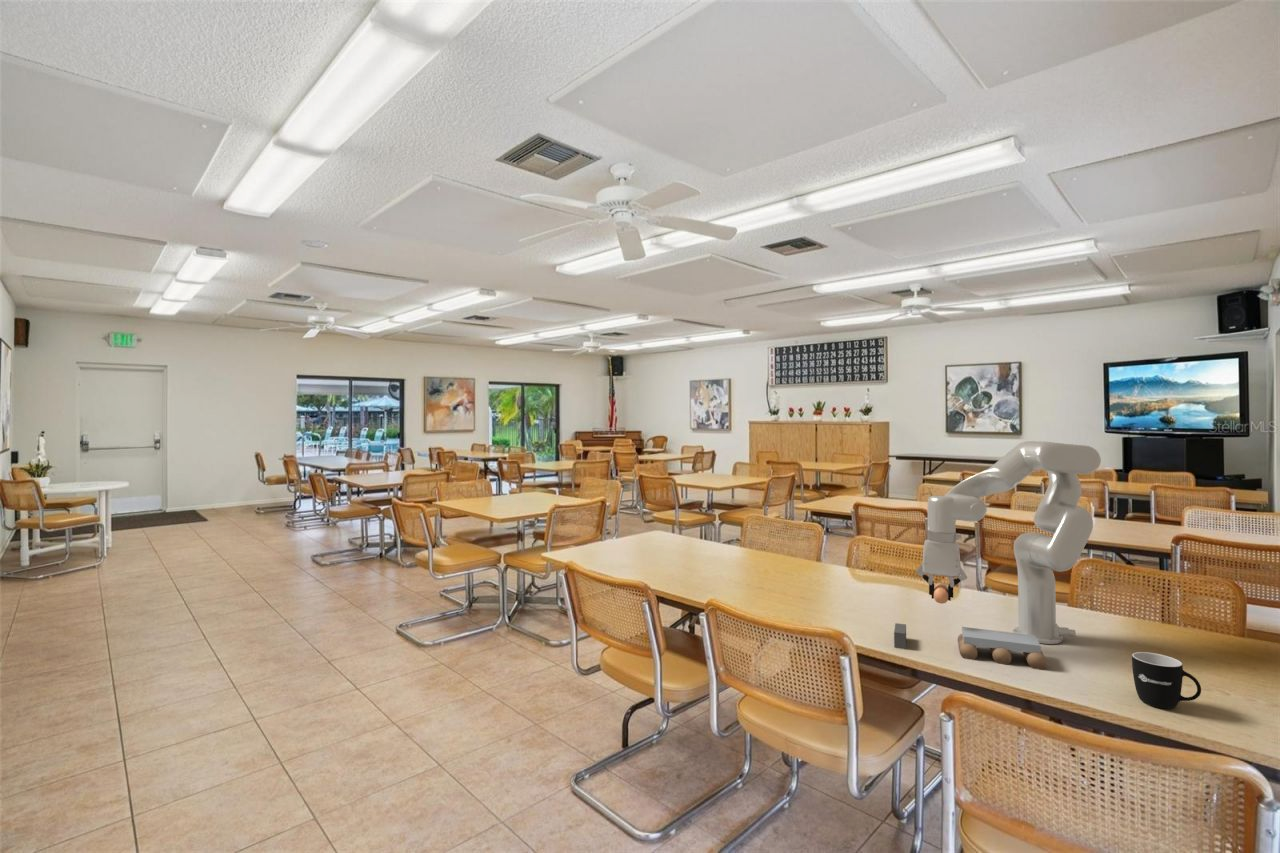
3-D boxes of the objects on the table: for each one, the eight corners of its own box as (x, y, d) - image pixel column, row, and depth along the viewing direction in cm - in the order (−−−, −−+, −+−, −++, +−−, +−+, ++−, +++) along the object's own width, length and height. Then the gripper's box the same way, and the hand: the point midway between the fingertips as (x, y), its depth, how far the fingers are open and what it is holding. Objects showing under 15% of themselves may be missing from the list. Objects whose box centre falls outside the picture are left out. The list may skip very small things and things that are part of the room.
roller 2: (957, 647, 175) (957, 632, 175) (974, 649, 173) (974, 634, 173) (959, 659, 165) (959, 643, 166) (977, 661, 164) (977, 645, 164)
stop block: (906, 640, 180) (906, 624, 180) (905, 650, 172) (905, 633, 172) (895, 639, 181) (895, 623, 181) (894, 649, 173) (894, 632, 173)
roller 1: (934, 594, 183) (934, 582, 183) (948, 595, 181) (947, 583, 181) (934, 603, 174) (933, 590, 174) (948, 604, 172) (947, 590, 172)
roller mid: (989, 651, 171) (988, 636, 171) (1007, 653, 169) (1006, 637, 169) (992, 663, 162) (992, 647, 162) (1011, 666, 160) (1011, 649, 160)
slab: (1035, 643, 166) (1034, 635, 166) (1040, 654, 158) (1040, 645, 158) (962, 634, 174) (961, 626, 174) (963, 644, 166) (963, 636, 166)
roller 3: (1021, 655, 168) (1021, 640, 168) (1040, 657, 166) (1039, 641, 166) (1027, 668, 159) (1026, 652, 159) (1047, 670, 157) (1046, 654, 157)
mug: (1128, 701, 139) (1128, 658, 139) (1136, 690, 145) (1135, 649, 145) (1199, 720, 130) (1198, 674, 130) (1204, 707, 136) (1203, 663, 136)
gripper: (972, 537, 177) (972, 599, 177) (911, 533, 185) (911, 592, 185) (973, 541, 170) (973, 605, 170) (910, 536, 178) (909, 597, 178)
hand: (941, 597), depth 177 cm, fingers closed on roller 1, 3 cm apart
